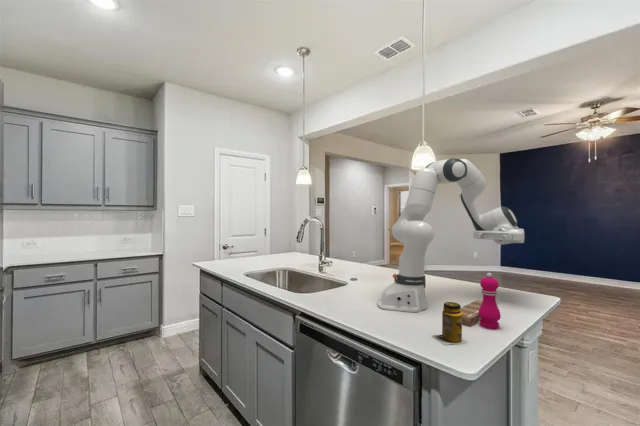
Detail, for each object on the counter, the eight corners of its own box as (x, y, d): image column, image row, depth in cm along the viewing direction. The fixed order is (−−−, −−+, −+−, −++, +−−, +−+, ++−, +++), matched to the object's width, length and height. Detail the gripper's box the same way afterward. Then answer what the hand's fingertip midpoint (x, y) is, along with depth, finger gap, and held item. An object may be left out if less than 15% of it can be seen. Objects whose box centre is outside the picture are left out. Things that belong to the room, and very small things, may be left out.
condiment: (467, 342, 99) (467, 306, 99) (445, 345, 97) (445, 308, 97) (453, 334, 106) (453, 300, 106) (431, 336, 104) (431, 301, 104)
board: (470, 327, 113) (470, 318, 113) (449, 321, 118) (449, 313, 118) (496, 310, 131) (496, 303, 131) (477, 306, 137) (477, 299, 137)
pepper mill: (474, 323, 117) (474, 271, 117) (492, 322, 117) (492, 270, 117) (486, 330, 109) (486, 275, 109) (505, 329, 110) (505, 274, 110)
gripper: (479, 227, 150) (467, 228, 141) (527, 228, 135) (518, 230, 126) (479, 240, 150) (467, 242, 141) (528, 243, 135) (518, 245, 126)
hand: (492, 236), depth 133 cm, fingers open, 8 cm apart
